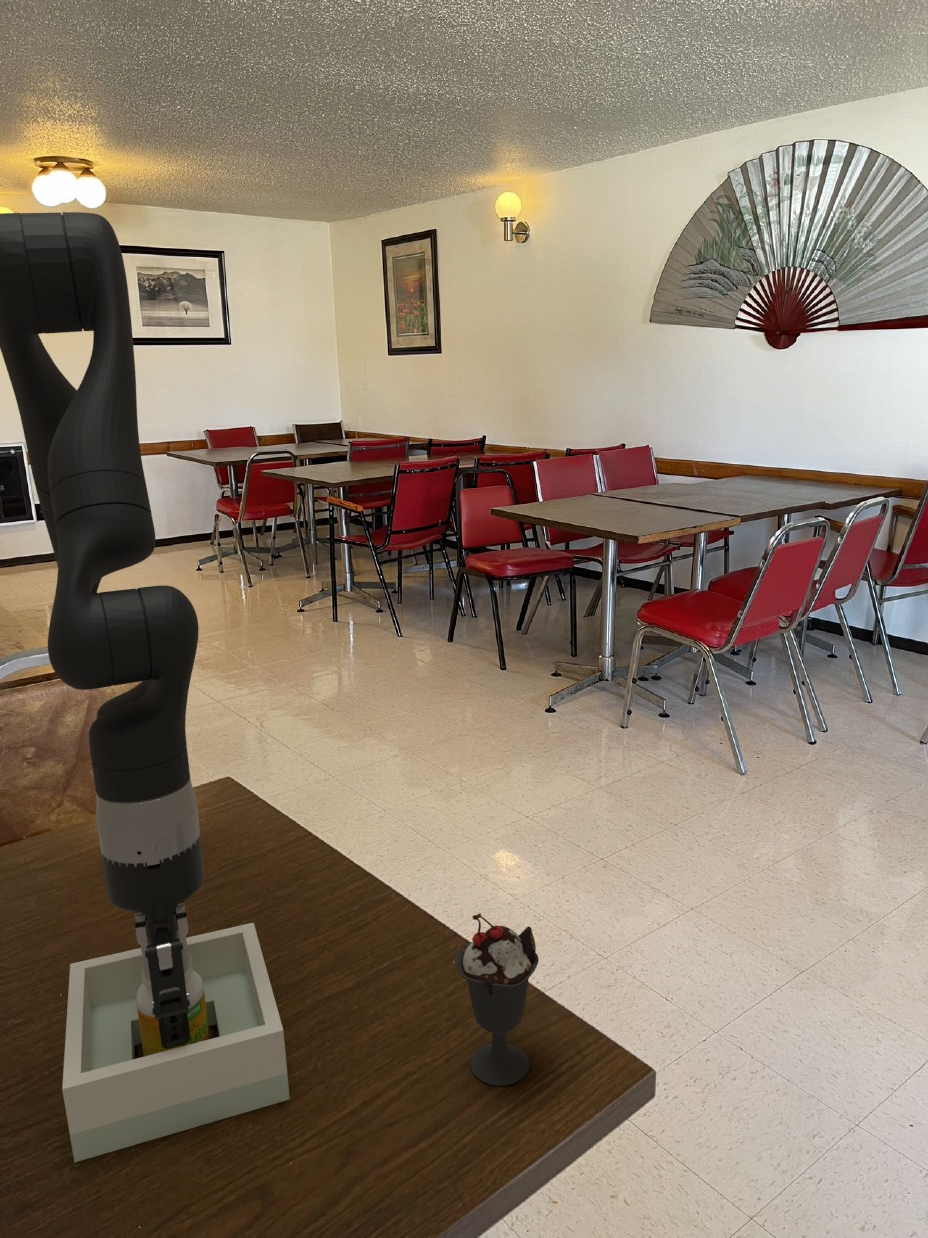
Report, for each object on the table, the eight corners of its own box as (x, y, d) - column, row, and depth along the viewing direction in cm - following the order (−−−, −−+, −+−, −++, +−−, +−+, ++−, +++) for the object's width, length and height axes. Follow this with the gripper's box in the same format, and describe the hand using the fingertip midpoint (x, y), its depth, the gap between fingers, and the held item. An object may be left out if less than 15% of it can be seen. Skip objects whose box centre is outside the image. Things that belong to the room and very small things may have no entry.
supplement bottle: (192, 1088, 75) (179, 985, 72) (132, 1079, 76) (118, 978, 73) (222, 1042, 80) (211, 945, 77) (165, 1034, 81) (153, 938, 78)
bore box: (80, 1026, 82) (70, 963, 81) (259, 982, 88) (253, 922, 86) (74, 1162, 68) (62, 1089, 66) (289, 1099, 73) (283, 1030, 71)
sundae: (448, 1084, 74) (441, 921, 70) (475, 1030, 80) (471, 877, 77) (526, 1104, 72) (524, 936, 68) (548, 1047, 78) (547, 890, 74)
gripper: (100, 807, 78) (123, 973, 82) (99, 890, 65) (127, 1082, 69) (191, 791, 80) (210, 953, 84) (208, 868, 67) (228, 1054, 71)
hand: (172, 1011), depth 77 cm, fingers open, 8 cm apart
